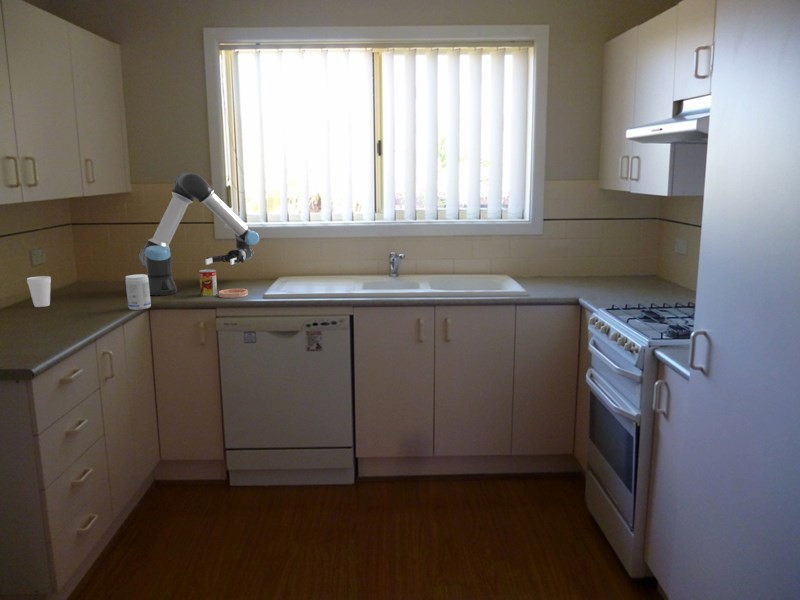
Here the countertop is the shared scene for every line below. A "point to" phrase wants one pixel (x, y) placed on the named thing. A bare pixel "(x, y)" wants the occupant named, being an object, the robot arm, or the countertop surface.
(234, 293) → the terracotta dish
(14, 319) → the countertop surface
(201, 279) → the canned food
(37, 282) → the foam cup
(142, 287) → the supplement tub
